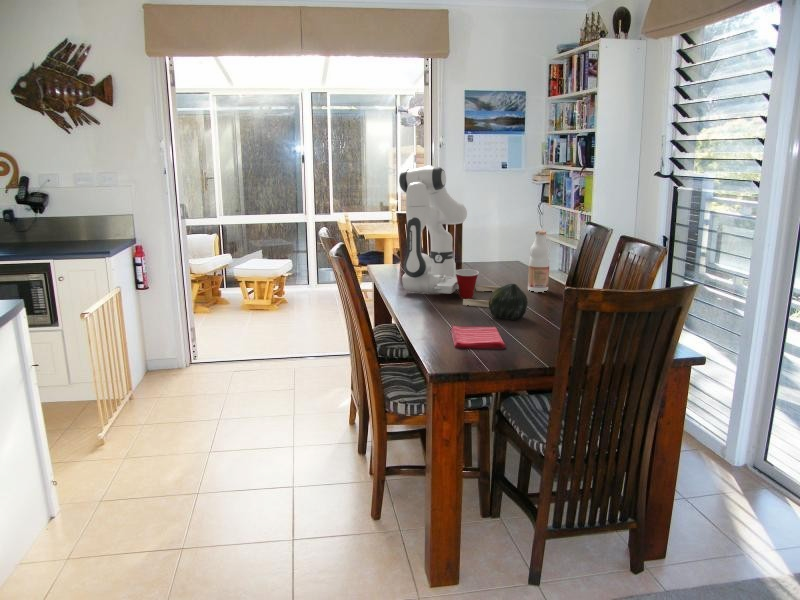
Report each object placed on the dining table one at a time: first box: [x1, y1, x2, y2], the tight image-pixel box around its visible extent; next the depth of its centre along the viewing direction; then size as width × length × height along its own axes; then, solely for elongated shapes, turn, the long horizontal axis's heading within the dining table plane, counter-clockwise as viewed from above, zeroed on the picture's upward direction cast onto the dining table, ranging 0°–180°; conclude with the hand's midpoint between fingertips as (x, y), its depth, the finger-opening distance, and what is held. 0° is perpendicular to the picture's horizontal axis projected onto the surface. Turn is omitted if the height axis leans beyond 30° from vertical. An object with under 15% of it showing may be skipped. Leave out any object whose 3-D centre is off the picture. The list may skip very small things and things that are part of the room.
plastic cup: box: [455, 268, 480, 299], centre depth 287 cm, size 11×11×12 cm
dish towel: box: [451, 325, 506, 349], centre depth 225 cm, size 17×24×3 cm
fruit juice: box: [527, 230, 551, 293], centre depth 299 cm, size 9×9×28 cm
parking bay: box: [462, 284, 501, 308], centre depth 285 cm, size 31×18×2 cm, turn 162°
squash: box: [488, 283, 529, 321], centre depth 251 cm, size 14×15×15 cm
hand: (466, 286), depth 287 cm, fingers closed, pressing on plastic cup
